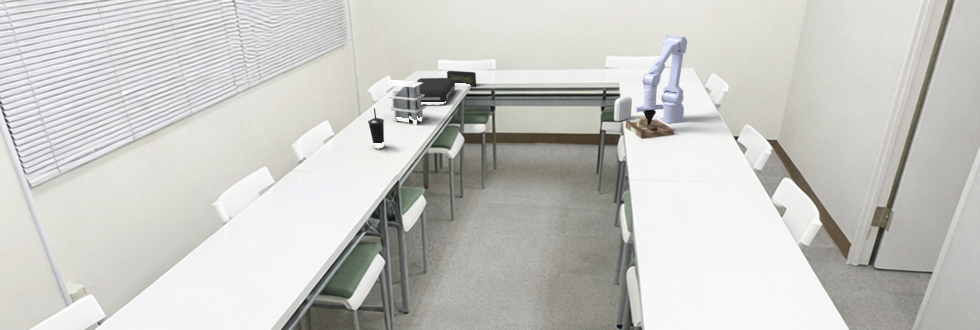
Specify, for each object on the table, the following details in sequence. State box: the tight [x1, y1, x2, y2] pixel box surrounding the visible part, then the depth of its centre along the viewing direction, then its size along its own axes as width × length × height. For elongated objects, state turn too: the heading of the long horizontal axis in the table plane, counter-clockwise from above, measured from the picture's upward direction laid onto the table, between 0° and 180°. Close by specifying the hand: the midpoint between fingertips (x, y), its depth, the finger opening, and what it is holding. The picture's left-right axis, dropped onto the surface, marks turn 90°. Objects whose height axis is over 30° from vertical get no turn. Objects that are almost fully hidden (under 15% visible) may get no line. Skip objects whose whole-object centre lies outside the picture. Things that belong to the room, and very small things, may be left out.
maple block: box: [636, 116, 647, 128], centre depth 285 cm, size 4×4×4 cm
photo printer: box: [613, 95, 633, 122], centre depth 304 cm, size 10×4×12 cm, turn 123°
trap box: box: [625, 119, 675, 139], centre depth 286 cm, size 17×18×4 cm
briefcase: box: [416, 77, 456, 102], centre depth 363 cm, size 36×32×10 cm
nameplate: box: [446, 70, 477, 88], centre depth 389 cm, size 21×2×10 cm, turn 65°
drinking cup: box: [367, 107, 385, 144], centre depth 278 cm, size 8×8×20 cm
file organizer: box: [387, 79, 426, 120], centre depth 317 cm, size 26×35×22 cm
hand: (648, 124), depth 285 cm, fingers closed
